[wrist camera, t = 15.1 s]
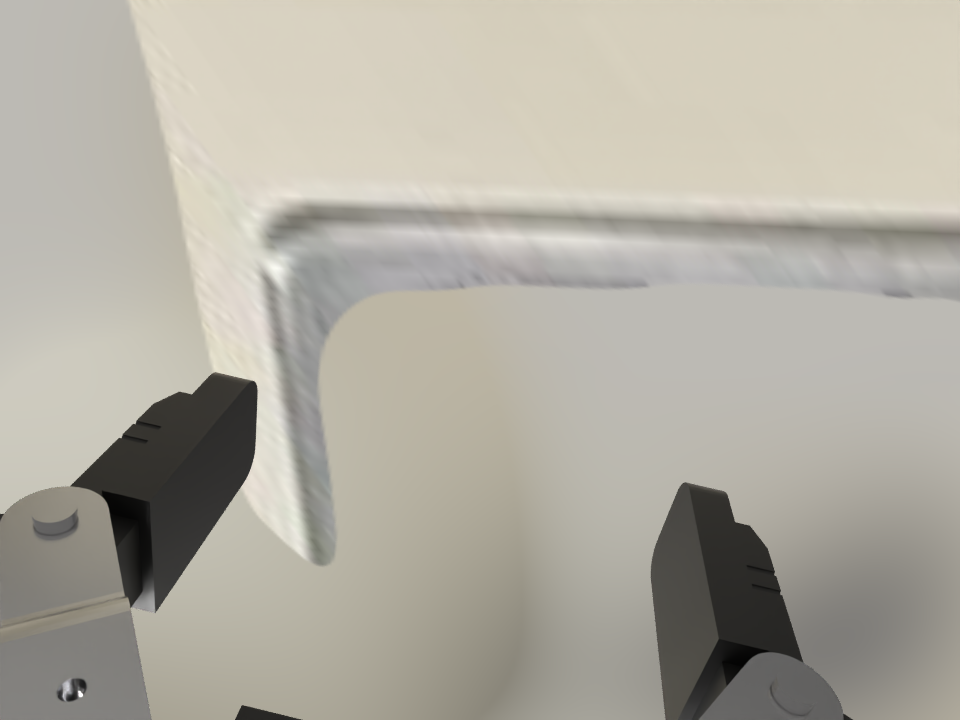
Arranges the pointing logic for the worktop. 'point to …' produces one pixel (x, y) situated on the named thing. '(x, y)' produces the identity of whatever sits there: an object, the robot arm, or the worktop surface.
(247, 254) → the worktop surface
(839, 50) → the worktop surface
